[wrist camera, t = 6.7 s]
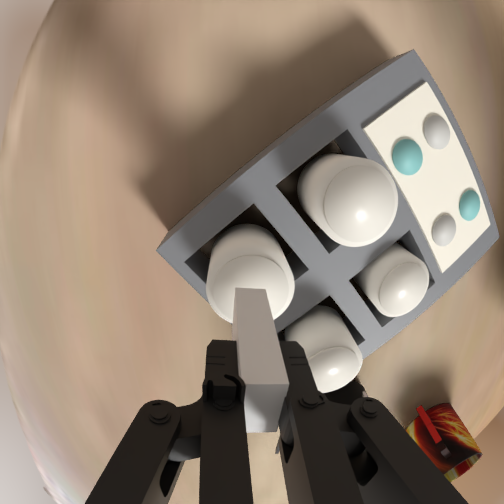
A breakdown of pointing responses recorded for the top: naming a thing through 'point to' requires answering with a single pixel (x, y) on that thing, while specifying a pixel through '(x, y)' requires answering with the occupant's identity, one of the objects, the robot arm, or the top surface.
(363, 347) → the board
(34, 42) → the top surface
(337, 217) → the button
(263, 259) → the button
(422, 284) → the button
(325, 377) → the button
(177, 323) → the top surface
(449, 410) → the mug
